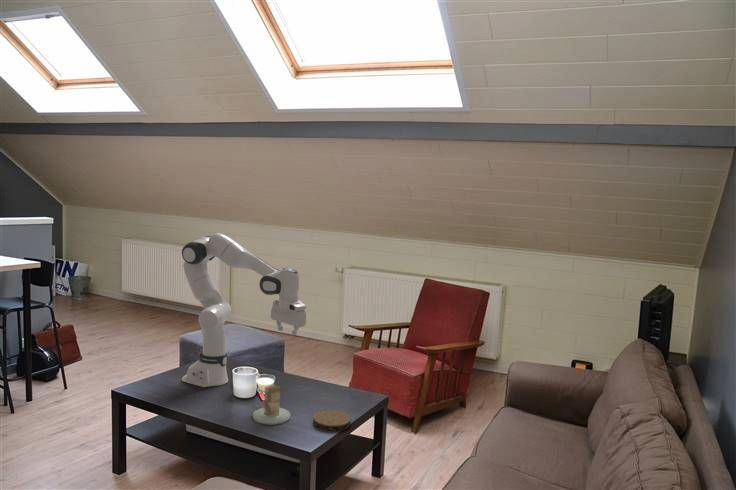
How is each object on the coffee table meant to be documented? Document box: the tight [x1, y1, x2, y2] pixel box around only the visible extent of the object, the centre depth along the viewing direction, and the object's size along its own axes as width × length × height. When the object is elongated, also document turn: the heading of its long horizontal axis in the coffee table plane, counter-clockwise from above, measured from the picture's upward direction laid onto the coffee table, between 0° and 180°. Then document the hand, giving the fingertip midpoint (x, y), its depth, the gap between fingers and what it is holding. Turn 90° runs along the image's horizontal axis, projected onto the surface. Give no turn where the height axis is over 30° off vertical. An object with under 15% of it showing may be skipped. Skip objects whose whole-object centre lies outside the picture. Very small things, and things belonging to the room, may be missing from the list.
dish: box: [252, 407, 291, 426], centre depth 256 cm, size 16×16×1 cm
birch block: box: [263, 384, 281, 417], centre depth 255 cm, size 5×5×12 cm
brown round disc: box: [312, 409, 352, 433], centre depth 253 cm, size 16×16×3 cm
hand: (287, 332), depth 275 cm, fingers open, 8 cm apart
